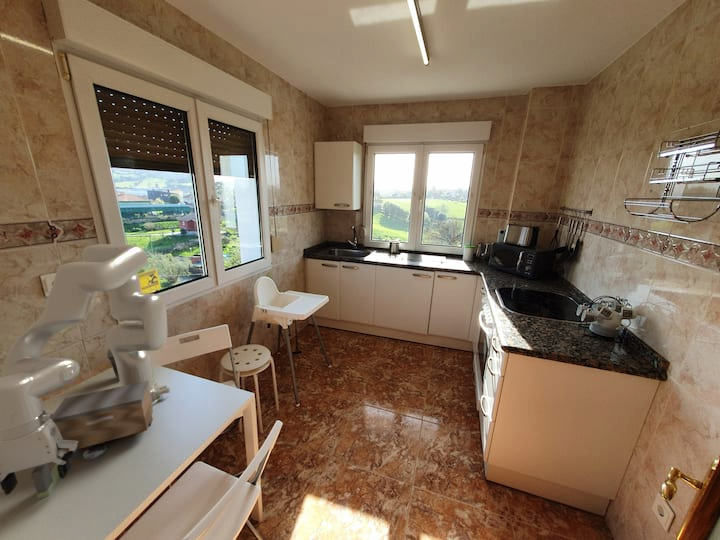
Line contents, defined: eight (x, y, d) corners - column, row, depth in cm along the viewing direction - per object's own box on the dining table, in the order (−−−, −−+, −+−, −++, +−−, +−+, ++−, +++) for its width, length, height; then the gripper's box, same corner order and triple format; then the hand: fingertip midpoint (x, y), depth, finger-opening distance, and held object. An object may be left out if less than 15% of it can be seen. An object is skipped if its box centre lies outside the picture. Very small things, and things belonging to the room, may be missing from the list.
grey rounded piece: (108, 444, 87) (107, 439, 86) (105, 456, 83) (104, 452, 82) (85, 451, 84) (85, 447, 84) (82, 464, 80) (81, 460, 80)
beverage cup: (139, 374, 120) (131, 332, 115) (120, 384, 113) (110, 340, 108) (127, 370, 122) (119, 329, 117) (108, 380, 115) (98, 337, 110)
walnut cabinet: (155, 418, 97) (148, 380, 93) (149, 440, 88) (141, 399, 84) (76, 438, 88) (65, 398, 84) (61, 465, 80) (47, 421, 76)
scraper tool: (68, 461, 81) (61, 438, 79) (49, 495, 72) (40, 470, 70) (59, 464, 80) (52, 441, 78) (38, 499, 71) (29, 474, 69)
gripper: (77, 404, 73) (90, 456, 77) (-20, 424, 66) (0, 482, 70) (63, 424, 67) (78, 480, 71) (-47, 449, 59) (-23, 511, 63)
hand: (39, 481), depth 70 cm, fingers open, 9 cm apart
